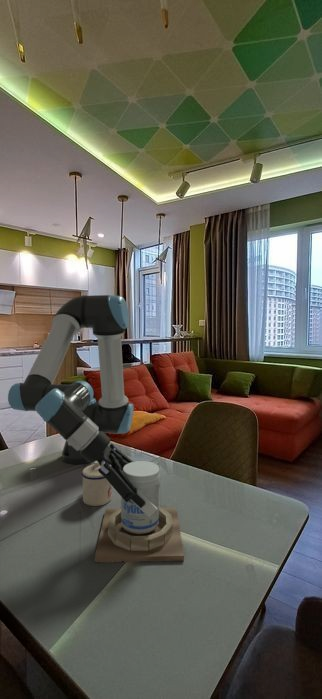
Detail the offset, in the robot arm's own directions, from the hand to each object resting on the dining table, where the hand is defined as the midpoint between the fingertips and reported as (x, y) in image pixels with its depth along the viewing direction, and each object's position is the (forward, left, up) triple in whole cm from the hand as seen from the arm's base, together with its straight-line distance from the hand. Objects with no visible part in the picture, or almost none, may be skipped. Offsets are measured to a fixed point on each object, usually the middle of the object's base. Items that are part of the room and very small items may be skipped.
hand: (152, 501), depth 84 cm
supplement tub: (0, -3, -6) cm, 7 cm away
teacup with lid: (-19, -17, -9) cm, 27 cm away
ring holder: (0, -3, -8) cm, 9 cm away
